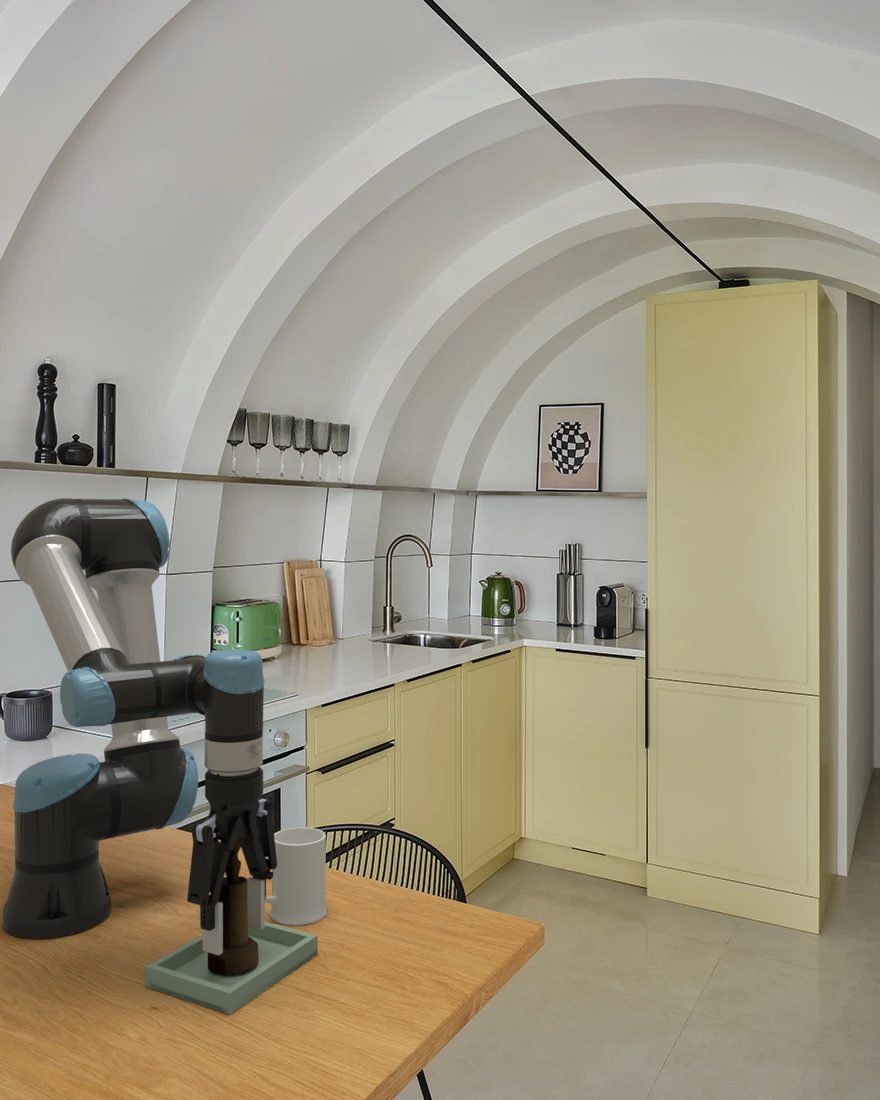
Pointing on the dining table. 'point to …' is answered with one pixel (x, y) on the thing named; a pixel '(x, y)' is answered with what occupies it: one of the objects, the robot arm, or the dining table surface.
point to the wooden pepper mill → (234, 922)
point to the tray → (227, 993)
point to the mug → (299, 877)
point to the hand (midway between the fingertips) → (234, 938)
